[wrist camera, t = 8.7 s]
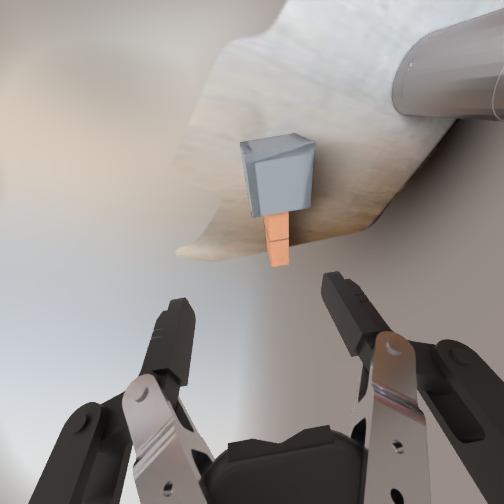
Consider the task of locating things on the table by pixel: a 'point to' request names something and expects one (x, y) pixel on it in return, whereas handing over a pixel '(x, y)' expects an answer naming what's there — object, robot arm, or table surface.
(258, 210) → the block
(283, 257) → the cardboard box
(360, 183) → the table surface
